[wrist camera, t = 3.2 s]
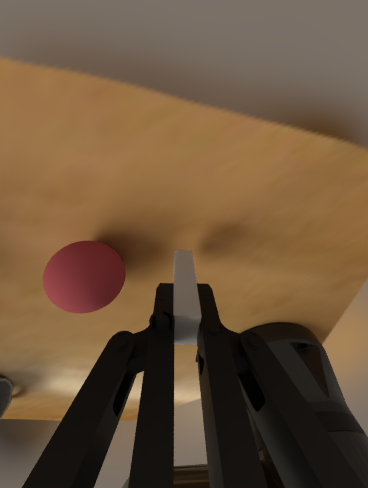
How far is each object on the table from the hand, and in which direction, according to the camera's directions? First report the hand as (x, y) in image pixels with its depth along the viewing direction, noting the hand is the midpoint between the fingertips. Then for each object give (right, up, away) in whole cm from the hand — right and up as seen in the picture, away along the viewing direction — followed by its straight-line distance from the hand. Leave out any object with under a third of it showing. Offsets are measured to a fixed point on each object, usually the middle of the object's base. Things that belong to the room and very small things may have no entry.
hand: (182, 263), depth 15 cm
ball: (-8, -1, -1) cm, 8 cm away
